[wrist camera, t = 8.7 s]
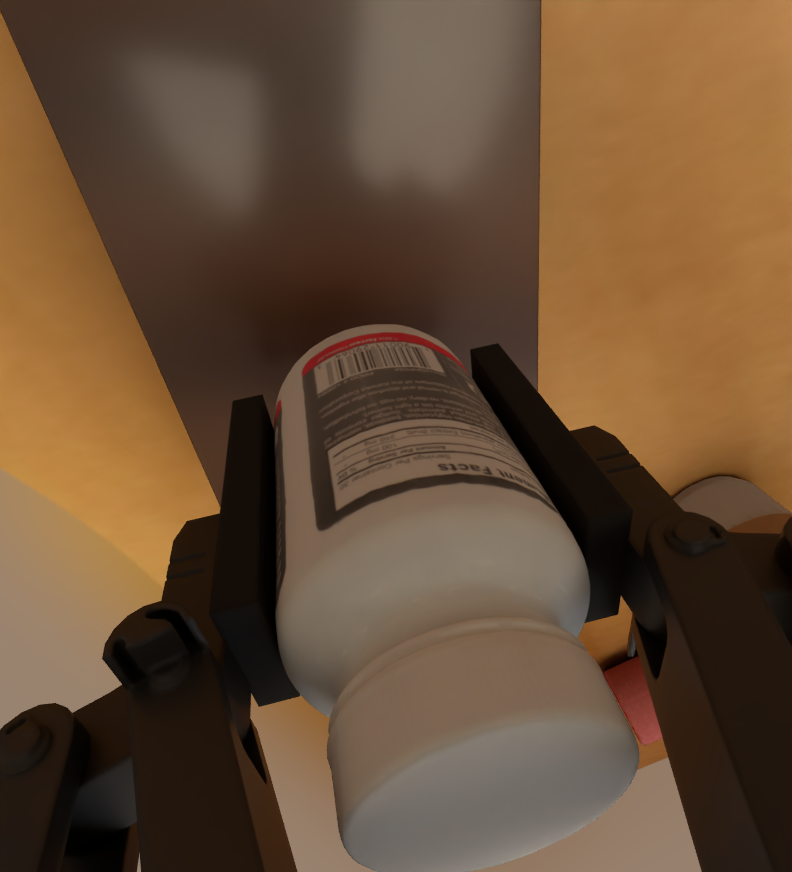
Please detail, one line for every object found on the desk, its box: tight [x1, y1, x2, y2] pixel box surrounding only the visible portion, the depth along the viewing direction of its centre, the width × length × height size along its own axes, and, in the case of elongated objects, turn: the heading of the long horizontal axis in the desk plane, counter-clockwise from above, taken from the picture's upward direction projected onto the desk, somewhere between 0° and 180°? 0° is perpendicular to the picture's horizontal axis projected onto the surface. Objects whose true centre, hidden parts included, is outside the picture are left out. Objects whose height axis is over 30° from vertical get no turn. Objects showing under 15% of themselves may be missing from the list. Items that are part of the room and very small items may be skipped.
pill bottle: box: [274, 324, 639, 872], centre depth 11 cm, size 5×5×10 cm
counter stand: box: [0, 0, 541, 507], centre depth 19 cm, size 20×12×4 cm, turn 9°
